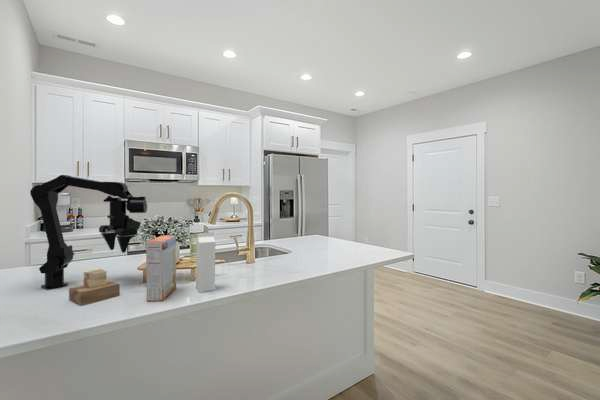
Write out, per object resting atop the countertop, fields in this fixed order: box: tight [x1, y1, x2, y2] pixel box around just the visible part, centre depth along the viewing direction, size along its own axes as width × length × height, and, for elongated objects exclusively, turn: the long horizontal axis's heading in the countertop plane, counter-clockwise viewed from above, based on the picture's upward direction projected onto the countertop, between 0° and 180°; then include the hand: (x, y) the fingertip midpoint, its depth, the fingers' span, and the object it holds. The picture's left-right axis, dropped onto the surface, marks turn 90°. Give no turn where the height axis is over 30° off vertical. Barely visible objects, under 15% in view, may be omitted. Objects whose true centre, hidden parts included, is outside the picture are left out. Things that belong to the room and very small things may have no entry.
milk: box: [195, 232, 216, 294], centre depth 114 cm, size 6×6×22 cm
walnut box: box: [68, 279, 121, 306], centre depth 103 cm, size 9×12×4 cm
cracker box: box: [145, 234, 177, 302], centre depth 107 cm, size 14×6×21 cm, turn 5°
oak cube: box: [83, 268, 107, 289], centre depth 103 cm, size 5×5×5 cm
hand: (117, 251), depth 120 cm, fingers open, 9 cm apart
